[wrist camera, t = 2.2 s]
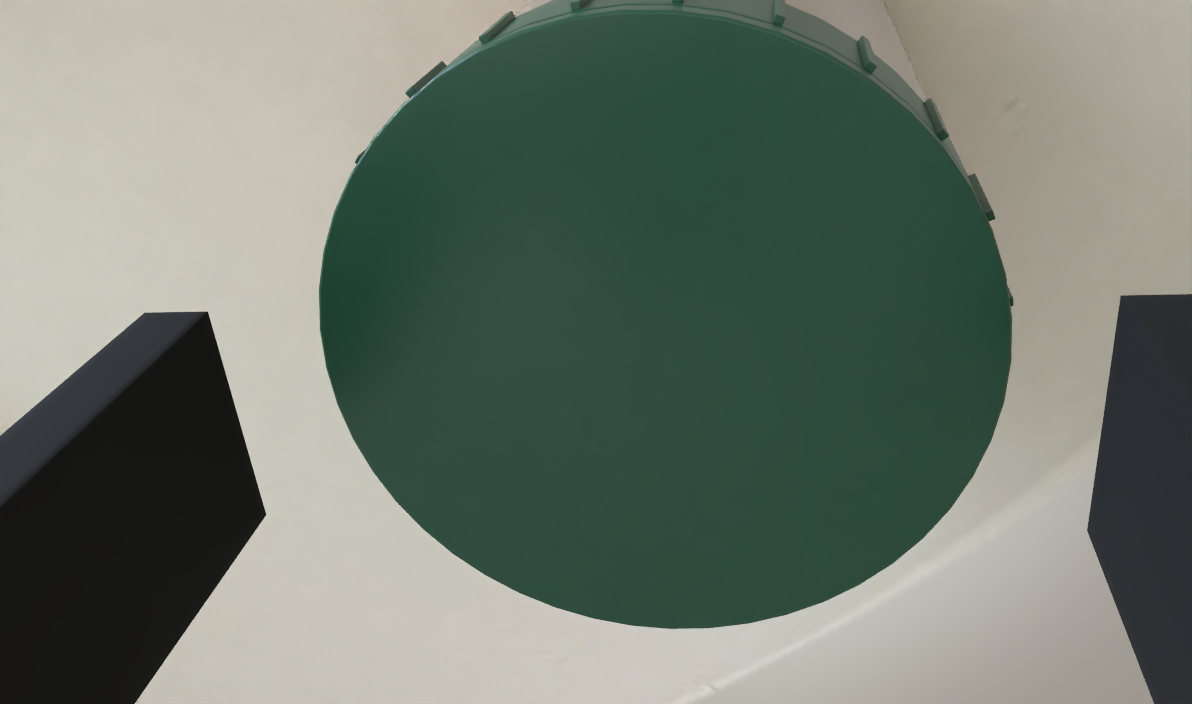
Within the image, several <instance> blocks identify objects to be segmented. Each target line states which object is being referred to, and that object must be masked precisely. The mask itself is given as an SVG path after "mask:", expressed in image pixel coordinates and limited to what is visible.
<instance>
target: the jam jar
mask: <svg viewBox="0 0 1192 704" xmlns="http://www.w3.org/2000/svg"><path fill="white" fill-rule="evenodd" d="M550 1H553V0H532V1H531V2H530V3H529V4H528V5H526V6H525V7H524V8H523V9H522V10H521V11H520V12H519V13H517V14H516V15H515V17H517V16H519V15H521V14H523V13H526V12H528V11H530V10H532V9H535V8H537V7H539V6H541V5H544V4H546V3H548V2H550ZM785 3H786V4H788V5H790V6H793V7H795V8H797V9H800V10H802V11H804V12H806V13H809V14H811V15H813V16H816V17H818V18H820V19H822V20H824V21H826V22H827V23H829V24H831V25H832V26H834V27H836V28H837V29H839V30H841V31H842V32H844V33H845V34H847V35H849V36H850V37H852V38H854V39H855V40H857V41H858V40H859V39H860V37H861V36H864V37H866V38H867V39H868V40H869V41H870V44H871V48H872V51H873V53H874V54H875V55H876V56H878V57H879V58H880V59H881V60H883V61H884V62H885V63H886V64H887V65H889V66H890V67H891V68H892V69H894V70H895V71H896V72H897V73H898V74H899V75H900V76H901V77H902V79H903V80H904V81H905V82H906V83H907V84H908V85H909V86H910V87H911V88H912V89H913V91H914V92H915V93H916V94H917V95H918V96H919V97H920V98H921V99H922V100H923V101H924V102H925V101H926V98H925V95H924V93H923V91H922V88H921V86H920V84H919V81H918V79H917V77H916V74H915V72H914V70H913V67H912V65H911V63H910V60H909V58H908V56H907V53H906V51H905V49H904V46H903V44H902V42H901V39H900V37H899V35H898V32H897V30H896V27H895V25H894V23H893V21H892V19H891V17H890V15H889V13H888V11H887V9H886V7H885V4H884V2H883V1H882V0H785Z"/></svg>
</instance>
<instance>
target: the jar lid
mask: <svg viewBox="0 0 1192 704" xmlns="http://www.w3.org/2000/svg"><path fill="white" fill-rule="evenodd" d="M406 95H407V96H408V97H409V99H408V100H407V101H406V102H405V103H404V104H403V105H402V106H401V107H400V108H399V109H398V110H397V111H396V113H395V114H394V115H393V116H392V117H391V118H390V120H389V121H388V122H387V123H386V124H385V125H384V126H383V128H382V129H381V130H380V131H379V132H378V133H377V134H376V136H375V137H374V138H373V140H372V141H371V143H370V144H369V146H368V147H367V149H365V150H364V151H363V152H362V153H361V154H360V155H359V156H358V157H357V159H356V161H355V163H356V164H357V165H356V166H355V168H354V170H353V171H352V173H351V175H350V177H349V179H348V181H347V184H346V186H345V188H344V191H343V193H342V195H341V197H340V200H339V202H338V204H337V206H336V209H335V211H334V214H333V218H332V222H331V225H330V229H329V233H328V236H327V240H326V244H325V248H324V253H323V261H322V269H321V278H320V286H319V305H320V332H321V338H322V344H323V350H324V356H325V362H326V368H327V371H328V374H329V378H330V381H331V384H332V388H333V391H334V394H335V397H336V401H337V404H338V406H339V408H340V411H341V413H342V415H343V417H344V420H345V422H346V424H347V426H348V428H349V431H350V433H351V435H352V437H353V439H354V441H355V443H356V444H357V446H358V448H359V449H360V451H361V453H362V454H363V456H364V457H365V459H366V461H367V462H368V464H369V466H370V467H371V469H372V471H373V472H374V473H375V475H376V476H377V477H378V479H379V480H380V481H381V482H382V484H383V485H384V486H385V488H386V489H387V490H388V491H389V493H390V494H391V495H392V497H393V498H394V499H395V500H396V502H397V503H398V504H399V505H400V506H401V507H402V508H403V509H404V510H405V511H406V512H407V513H408V514H409V515H410V516H411V517H412V518H413V519H414V520H415V521H416V522H417V523H418V524H419V525H420V526H421V527H422V528H423V529H424V530H425V531H426V532H427V533H429V534H430V535H431V536H432V537H433V538H435V539H436V540H437V541H438V542H440V543H441V544H442V545H443V546H444V547H446V548H447V549H448V550H449V551H450V552H452V553H453V554H454V555H456V556H457V557H459V558H460V559H462V560H463V561H465V562H466V563H468V564H470V565H471V566H473V567H474V568H476V569H477V570H479V571H480V572H482V573H483V574H485V575H486V576H488V577H490V578H492V579H494V580H496V581H498V582H500V583H502V584H504V585H505V586H507V587H509V588H511V589H513V590H515V591H517V592H519V593H521V594H524V595H526V596H529V597H531V598H534V599H536V600H539V601H541V602H544V603H546V604H549V605H551V606H553V607H556V608H560V609H563V610H566V611H570V612H573V613H577V614H580V615H584V616H587V617H591V618H595V619H600V620H605V621H611V622H616V623H621V624H627V625H633V626H645V627H657V628H669V629H679V628H714V627H722V626H731V625H739V624H747V623H752V622H757V621H761V620H765V619H770V618H774V617H778V616H783V615H787V614H790V613H793V612H796V611H799V610H801V609H804V608H807V607H810V606H813V605H816V604H819V603H822V602H824V601H826V600H828V599H831V598H833V597H835V596H837V595H839V594H841V593H843V592H845V591H847V590H849V589H851V588H853V587H856V586H858V585H860V584H861V583H863V582H864V581H866V580H867V579H869V578H871V577H872V576H874V575H875V574H877V573H878V572H880V571H882V570H883V569H885V568H886V567H888V566H889V565H891V564H893V563H894V562H895V561H896V560H897V559H899V558H900V557H901V556H902V555H903V554H905V553H906V552H907V551H908V550H909V549H911V548H912V547H913V546H914V545H916V544H917V543H918V542H919V541H920V540H922V539H923V538H924V537H925V536H926V534H927V533H928V532H929V531H930V530H931V529H932V528H933V527H934V526H935V525H936V524H937V523H938V522H939V520H940V519H941V518H942V517H943V516H944V515H945V514H946V513H947V512H948V511H949V510H950V508H951V507H952V506H953V504H954V503H955V501H956V500H957V498H958V497H959V496H960V494H961V493H962V491H963V490H964V488H965V487H966V486H967V484H968V483H969V481H970V480H971V478H972V477H973V475H974V473H975V471H976V469H977V467H978V465H979V463H980V461H981V459H982V457H983V455H984V454H985V452H986V450H987V448H988V446H989V444H990V442H991V440H992V437H993V434H994V431H995V428H996V425H997V422H998V418H999V415H1000V412H1001V409H1002V406H1003V403H1004V400H1005V394H1006V388H1007V382H1008V376H1009V371H1010V365H1011V345H1012V314H1011V307H1010V306H1013V297H1012V295H1011V292H1010V290H1009V288H1008V285H1007V279H1006V273H1005V270H1004V266H1003V263H1002V260H1001V257H1000V253H999V250H998V247H997V244H996V240H995V237H994V234H993V230H992V228H991V226H990V224H989V222H988V221H991V220H994V219H995V216H994V213H993V211H992V209H991V207H990V204H989V202H988V200H987V198H986V196H985V194H984V192H983V189H982V187H981V185H980V183H979V181H978V179H977V177H976V175H975V174H972V175H969V176H968V175H967V173H966V171H965V169H964V167H963V165H962V163H961V161H960V158H959V156H958V154H957V152H956V150H955V148H954V146H953V144H952V142H951V140H950V139H949V134H948V132H947V130H946V127H945V125H944V123H943V121H942V118H941V116H940V114H939V112H938V110H937V107H936V105H935V103H934V102H933V101H932V99H931V98H929V99H928V100H926V101H925V102H924V101H923V100H922V99H921V98H920V97H919V96H918V95H917V94H916V93H915V92H914V91H913V89H912V88H911V87H910V86H909V85H908V84H907V83H906V82H905V81H904V80H903V79H902V77H901V76H900V75H899V74H898V73H897V72H896V71H895V70H894V69H892V68H891V67H890V66H889V65H887V64H886V63H885V62H884V61H883V60H881V59H880V58H879V57H878V56H876V55H875V54H874V53H873V51H872V48H871V44H870V41H869V40H868V39H867V38H866V37H864V36H861V37H860V39H859V40H858V41H857V40H855V39H854V38H852V37H850V36H849V35H847V34H845V33H844V32H842V31H841V30H839V29H837V28H836V27H834V26H832V25H831V24H829V23H827V22H826V21H824V20H822V19H820V18H818V17H816V16H813V15H811V14H809V13H806V12H804V11H802V10H800V9H797V8H795V7H793V6H790V5H788V4H786V3H785V0H553V1H550V2H548V3H546V4H544V5H541V6H539V7H537V8H535V9H532V10H530V11H528V12H526V13H523V14H521V15H519V16H517V17H515V16H514V14H513V12H512V11H511V12H509V13H507V14H505V15H504V16H503V17H502V18H500V19H499V20H498V21H497V22H496V23H495V24H494V25H492V26H491V27H490V28H489V29H488V30H487V31H485V32H484V33H483V34H482V35H481V36H480V37H479V40H477V41H476V42H475V43H473V44H472V45H471V46H470V47H469V48H468V49H466V50H465V51H464V52H463V53H462V54H461V55H459V56H458V57H457V58H456V59H455V60H453V61H452V62H451V63H450V64H449V65H448V66H446V65H445V63H444V62H443V61H441V62H440V63H439V64H438V65H437V66H436V67H434V68H433V69H432V70H431V71H430V72H428V73H427V74H426V75H425V76H424V77H422V78H421V79H420V80H419V81H418V82H416V83H415V84H414V85H413V86H412V87H410V88H409V89H408V90H407V91H406Z"/></svg>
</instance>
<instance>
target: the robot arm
mask: <svg viewBox="0 0 1192 704" xmlns="http://www.w3.org/2000/svg"><path fill="white" fill-rule="evenodd" d="M265 516H266V513H265V509H264V506H263V502H262V499H261V495H260V492H259V488H258V485H257V481H256V478H255V474H254V471H253V468H252V464H251V461H250V457H249V454H248V450H247V447H246V443H245V440H244V436H243V433H242V429H241V426H240V422H239V419H238V415H237V412H236V408H235V405H234V401H233V398H232V394H231V391H230V388H229V384H228V381H227V377H226V374H225V370H224V367H223V363H222V360H221V356H220V353H219V349H218V346H217V342H216V339H215V335H214V332H213V328H212V325H211V321H210V318H209V314H208V312H164V313H144V314H143V315H142V316H140V317H139V318H138V319H137V320H136V321H135V322H133V323H132V324H131V325H130V326H129V327H127V328H126V329H125V330H124V331H123V332H122V333H120V334H119V335H118V336H117V337H116V338H115V339H113V340H112V341H111V342H110V343H109V344H107V345H106V346H105V347H104V348H103V349H102V350H100V351H99V352H98V353H97V354H96V355H95V356H93V357H92V358H91V359H90V360H89V361H88V362H86V363H85V364H84V365H83V366H82V367H80V368H79V369H78V370H77V371H76V372H75V373H73V374H72V375H71V376H70V377H69V378H68V379H66V380H65V381H64V382H63V383H62V384H61V385H59V386H58V387H57V388H56V389H55V390H53V391H52V392H51V393H50V394H49V395H48V396H46V397H45V398H44V399H43V400H42V401H41V402H39V403H38V404H37V405H36V406H35V407H34V408H32V409H31V410H30V411H29V412H28V413H26V414H25V415H24V416H23V417H22V418H21V419H19V420H18V421H17V422H16V423H15V424H14V425H12V426H11V427H10V428H9V429H8V430H6V431H5V432H4V433H3V434H2V435H1V436H0V704H135V702H136V701H137V699H138V698H139V697H140V695H141V694H142V692H143V691H144V689H145V688H146V686H147V685H148V684H149V682H150V681H151V679H152V678H153V676H154V675H155V674H156V672H157V671H158V669H159V668H160V666H161V665H162V664H163V662H164V661H165V659H166V658H167V656H168V655H169V653H170V652H171V651H172V649H173V648H174V646H175V645H176V643H177V642H178V641H179V639H180V638H181V636H182V635H183V633H184V632H185V631H186V629H187V628H188V626H189V625H190V623H191V622H192V620H193V619H194V618H195V616H196V615H197V613H198V612H199V610H200V609H201V608H202V606H203V605H204V603H205V602H206V600H207V599H208V598H209V596H210V595H211V593H212V592H213V590H214V589H215V588H216V586H217V585H218V583H219V582H220V580H221V579H222V577H223V576H224V575H225V573H226V572H227V570H228V569H229V567H230V566H231V565H232V563H233V562H234V560H235V559H236V557H237V556H238V555H239V553H240V552H241V550H242V549H243V547H244V546H245V544H246V543H247V542H248V540H249V539H250V537H251V536H252V534H253V533H254V532H255V530H256V529H257V527H258V526H259V524H260V523H261V522H262V520H263V519H264V517H265ZM1087 531H1088V534H1089V536H1090V539H1091V541H1092V544H1093V547H1094V549H1095V552H1096V554H1097V557H1098V559H1099V562H1100V565H1101V567H1102V570H1103V572H1104V575H1105V578H1106V580H1107V583H1108V585H1109V588H1110V591H1111V593H1112V595H1113V598H1114V601H1115V603H1116V606H1117V609H1118V611H1119V614H1120V616H1121V619H1122V621H1123V624H1124V627H1125V629H1126V632H1127V634H1128V637H1129V640H1130V642H1131V645H1132V647H1133V650H1134V653H1135V655H1136V658H1137V660H1138V663H1139V665H1140V668H1141V671H1142V673H1143V676H1144V678H1145V681H1146V683H1147V686H1148V689H1149V691H1150V694H1151V696H1152V699H1153V702H1154V704H1192V294H1185V295H1129V296H1121V298H1120V305H1119V312H1118V319H1117V326H1116V333H1115V340H1114V347H1113V354H1112V361H1111V368H1110V375H1109V382H1108V389H1107V396H1106V403H1105V410H1104V417H1103V424H1102V431H1101V438H1100V445H1099V452H1098V459H1097V466H1096V473H1095V481H1094V488H1093V494H1092V501H1091V508H1090V515H1089V522H1088V529H1087Z"/></svg>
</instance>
